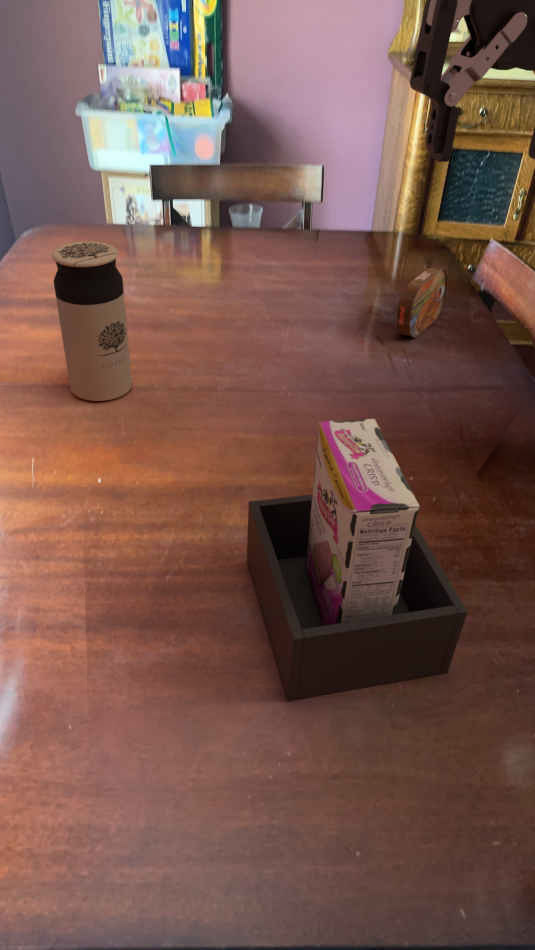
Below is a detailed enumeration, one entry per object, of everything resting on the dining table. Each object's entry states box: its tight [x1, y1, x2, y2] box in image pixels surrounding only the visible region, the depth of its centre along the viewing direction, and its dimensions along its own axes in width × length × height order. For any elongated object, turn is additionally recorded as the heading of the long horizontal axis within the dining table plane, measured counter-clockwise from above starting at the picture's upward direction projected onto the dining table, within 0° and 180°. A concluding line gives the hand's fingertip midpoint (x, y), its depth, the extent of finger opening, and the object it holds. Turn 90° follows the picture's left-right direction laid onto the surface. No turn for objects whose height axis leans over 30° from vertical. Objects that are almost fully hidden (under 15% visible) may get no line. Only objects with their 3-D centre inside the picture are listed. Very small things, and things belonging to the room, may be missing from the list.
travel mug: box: [51, 240, 133, 402], centre depth 83 cm, size 8×8×18 cm
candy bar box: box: [306, 418, 421, 626], centre depth 55 cm, size 11×5×16 cm, turn 10°
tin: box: [395, 267, 449, 339], centre depth 106 cm, size 15×3×8 cm, turn 147°
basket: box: [246, 494, 469, 702], centre depth 58 cm, size 14×16×8 cm
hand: (489, 159), depth 53 cm, fingers open, 8 cm apart
